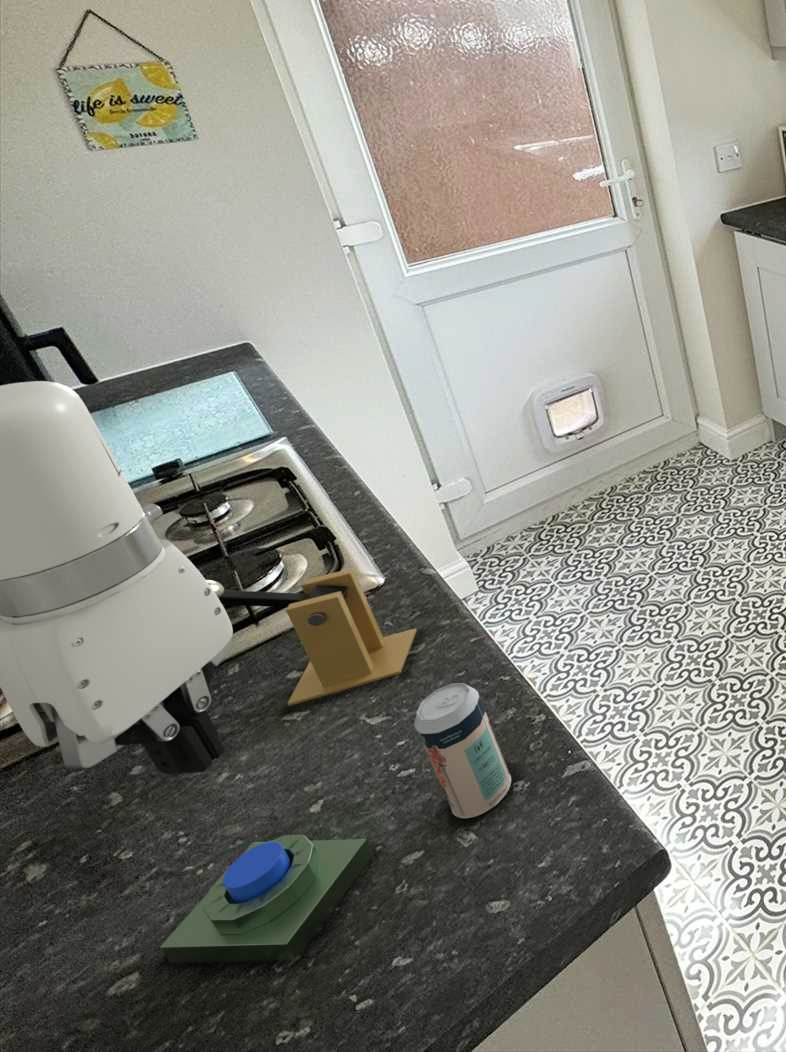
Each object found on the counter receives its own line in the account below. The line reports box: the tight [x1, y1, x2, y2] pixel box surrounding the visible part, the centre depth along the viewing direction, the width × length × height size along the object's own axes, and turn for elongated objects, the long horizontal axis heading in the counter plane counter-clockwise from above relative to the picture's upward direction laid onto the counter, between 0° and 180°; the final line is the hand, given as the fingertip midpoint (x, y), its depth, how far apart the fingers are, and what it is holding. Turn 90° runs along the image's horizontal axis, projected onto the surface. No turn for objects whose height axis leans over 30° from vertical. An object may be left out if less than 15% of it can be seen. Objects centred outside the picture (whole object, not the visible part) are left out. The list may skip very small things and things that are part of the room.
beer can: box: [413, 682, 512, 819], centre depth 70 cm, size 5×5×12 cm
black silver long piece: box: [205, 579, 348, 608], centre depth 81 cm, size 13×3×3 cm, turn 113°
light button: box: [223, 841, 290, 902], centre depth 62 cm, size 4×4×2 cm
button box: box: [159, 834, 374, 964], centre depth 63 cm, size 10×8×4 cm
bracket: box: [285, 568, 418, 707], centre depth 85 cm, size 10×7×12 cm
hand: (196, 762), depth 58 cm, fingers closed
